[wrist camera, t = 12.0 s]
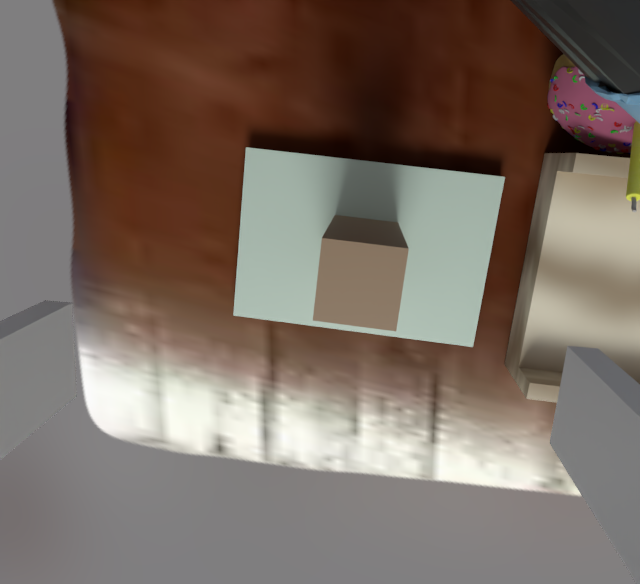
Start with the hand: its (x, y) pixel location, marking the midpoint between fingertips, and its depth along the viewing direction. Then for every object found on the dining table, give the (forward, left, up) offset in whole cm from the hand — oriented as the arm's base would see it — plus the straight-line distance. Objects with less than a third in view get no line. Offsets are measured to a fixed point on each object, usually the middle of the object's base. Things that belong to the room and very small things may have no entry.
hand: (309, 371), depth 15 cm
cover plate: (0, +1, -23) cm, 23 cm away
